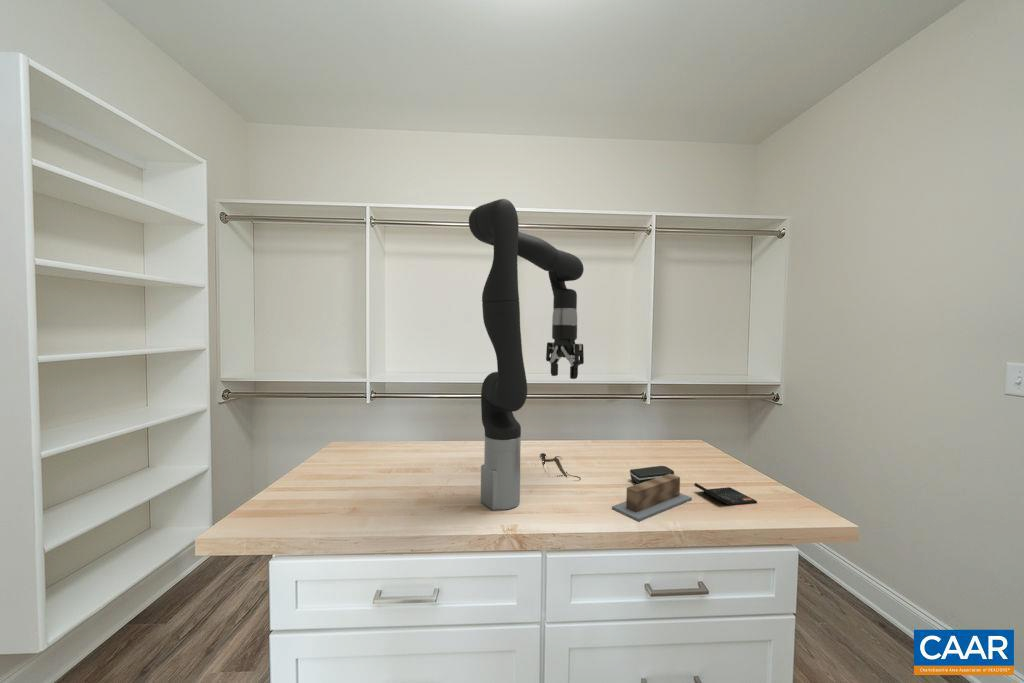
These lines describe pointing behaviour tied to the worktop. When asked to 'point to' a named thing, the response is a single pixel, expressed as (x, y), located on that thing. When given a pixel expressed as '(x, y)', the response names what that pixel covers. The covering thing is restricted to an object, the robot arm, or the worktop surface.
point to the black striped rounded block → (649, 473)
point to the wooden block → (652, 492)
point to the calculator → (728, 495)
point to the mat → (651, 508)
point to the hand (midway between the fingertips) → (563, 377)
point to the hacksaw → (557, 464)
